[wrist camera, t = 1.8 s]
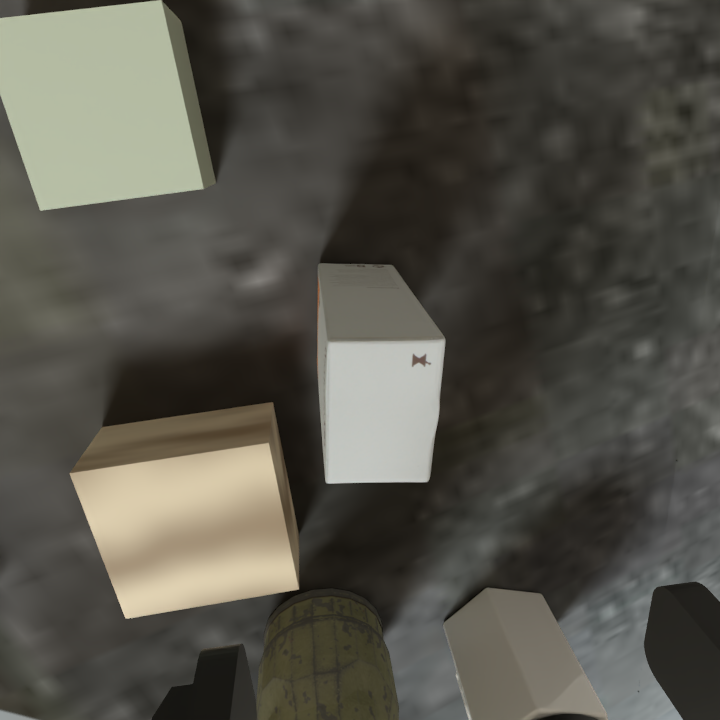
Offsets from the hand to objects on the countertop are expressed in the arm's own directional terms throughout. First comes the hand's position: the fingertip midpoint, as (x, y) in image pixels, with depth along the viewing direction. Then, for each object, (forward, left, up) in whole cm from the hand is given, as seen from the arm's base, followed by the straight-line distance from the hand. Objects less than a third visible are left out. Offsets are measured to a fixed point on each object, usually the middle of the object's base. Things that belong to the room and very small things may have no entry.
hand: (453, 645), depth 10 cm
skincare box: (0, 0, -22) cm, 22 cm away
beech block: (+10, -10, -22) cm, 26 cm away
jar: (+26, +9, -22) cm, 35 cm away
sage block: (-11, -10, -22) cm, 26 cm away
